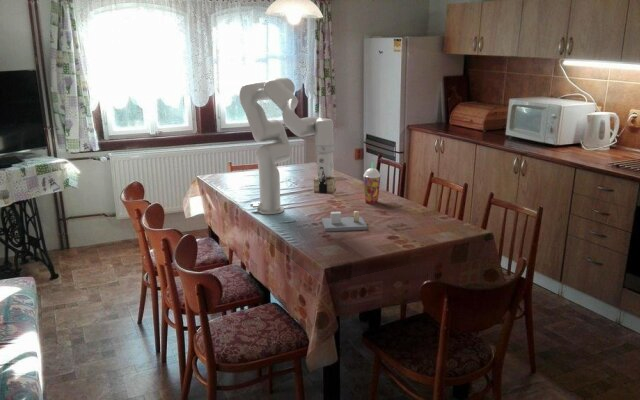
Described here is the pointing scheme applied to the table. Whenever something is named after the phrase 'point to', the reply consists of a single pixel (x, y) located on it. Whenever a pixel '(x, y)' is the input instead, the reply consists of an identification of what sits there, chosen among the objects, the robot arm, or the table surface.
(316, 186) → the sleeve
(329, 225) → the pin board
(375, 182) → the smoothie
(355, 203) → the table surface
